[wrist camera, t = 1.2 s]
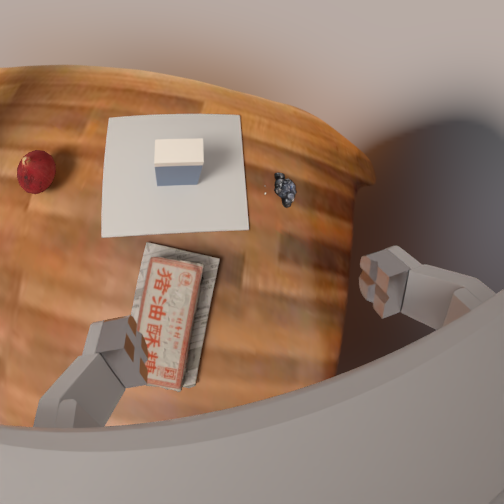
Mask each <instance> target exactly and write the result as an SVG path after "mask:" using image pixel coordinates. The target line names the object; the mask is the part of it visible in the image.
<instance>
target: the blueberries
mask: <svg viewBox="0 0 504 504" xmlns="http://www.w3.org/2000/svg"><path fill="white" fill-rule="evenodd" d="M275 179H276V181H275V190H274V191H275V193H276V194H277V195H278V196H280V197H281V199H282V204H283V206H284V207H286V208H287V207H290V206H291V203H292V202H293V201H294V197H295V194H296V190H295V184H294V183H293V182H292V181H291V180H289V179H285V176H284V174H282V173H275ZM264 186H265V185H264ZM265 187H266V186H265ZM264 194H265V195H266V192H265V193H264Z"/></svg>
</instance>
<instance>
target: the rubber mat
mask: <svg viewBox="0 0 504 504" xmlns="http://www.w3.org/2000/svg"><path fill="white" fill-rule="evenodd" d="M198 138H203V155H204V163H203V166H202V170H201V173H200V177H199V180H198V184H197V185H173V186H157V181H156V173H155V165H154V155H155V140H157V139H198ZM236 230H249V222H248V210H247V198H246V185H245V173H244V161H243V148H242V136H241V124H240V115H224V114H161V115H141V116H126V117H115V118H109V123H108V130H107V139H106V148H105V159H104V172H103V189H102V238H107V237H122V236H138V235H155V234H173V233H192V232H213V231H236Z"/></svg>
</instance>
